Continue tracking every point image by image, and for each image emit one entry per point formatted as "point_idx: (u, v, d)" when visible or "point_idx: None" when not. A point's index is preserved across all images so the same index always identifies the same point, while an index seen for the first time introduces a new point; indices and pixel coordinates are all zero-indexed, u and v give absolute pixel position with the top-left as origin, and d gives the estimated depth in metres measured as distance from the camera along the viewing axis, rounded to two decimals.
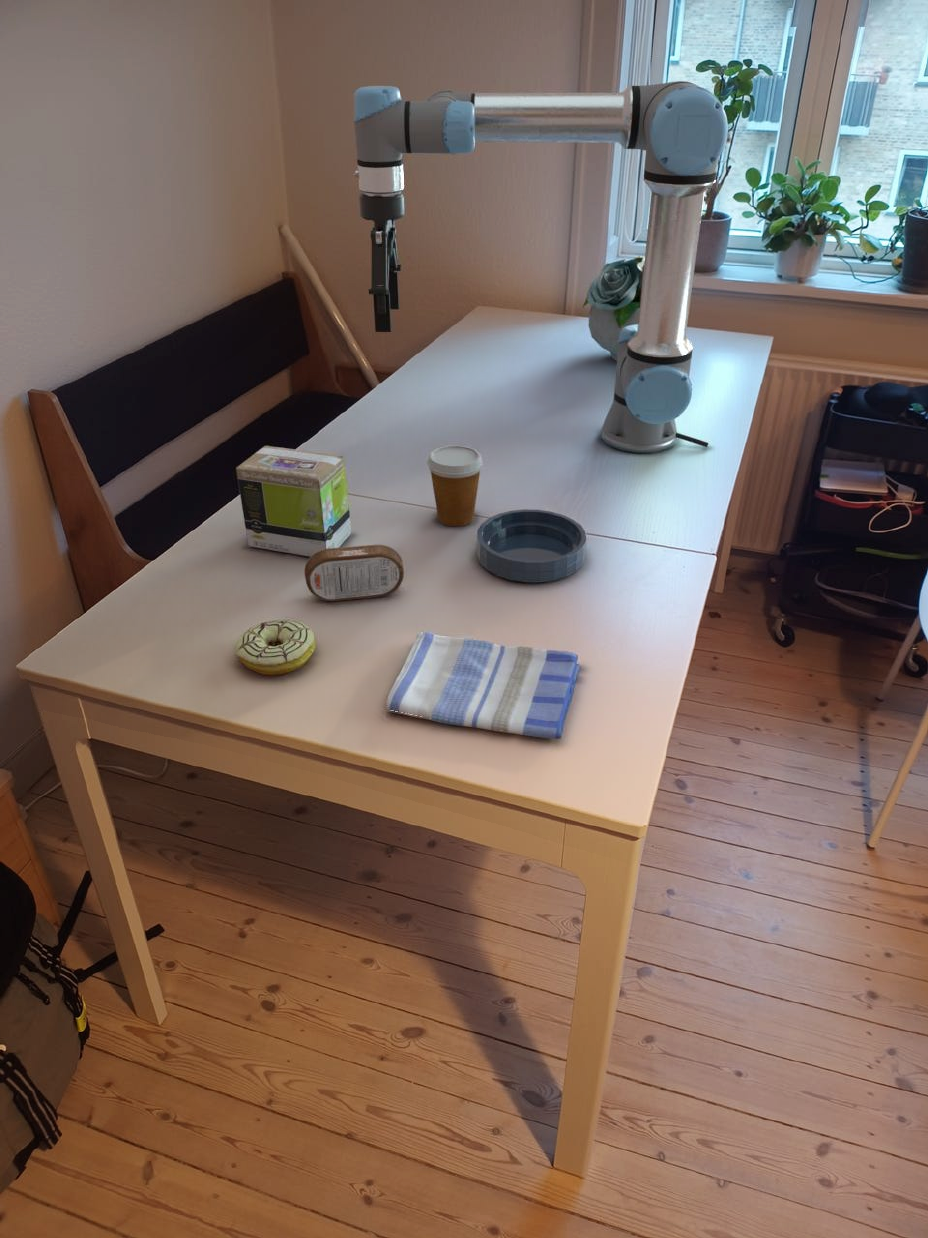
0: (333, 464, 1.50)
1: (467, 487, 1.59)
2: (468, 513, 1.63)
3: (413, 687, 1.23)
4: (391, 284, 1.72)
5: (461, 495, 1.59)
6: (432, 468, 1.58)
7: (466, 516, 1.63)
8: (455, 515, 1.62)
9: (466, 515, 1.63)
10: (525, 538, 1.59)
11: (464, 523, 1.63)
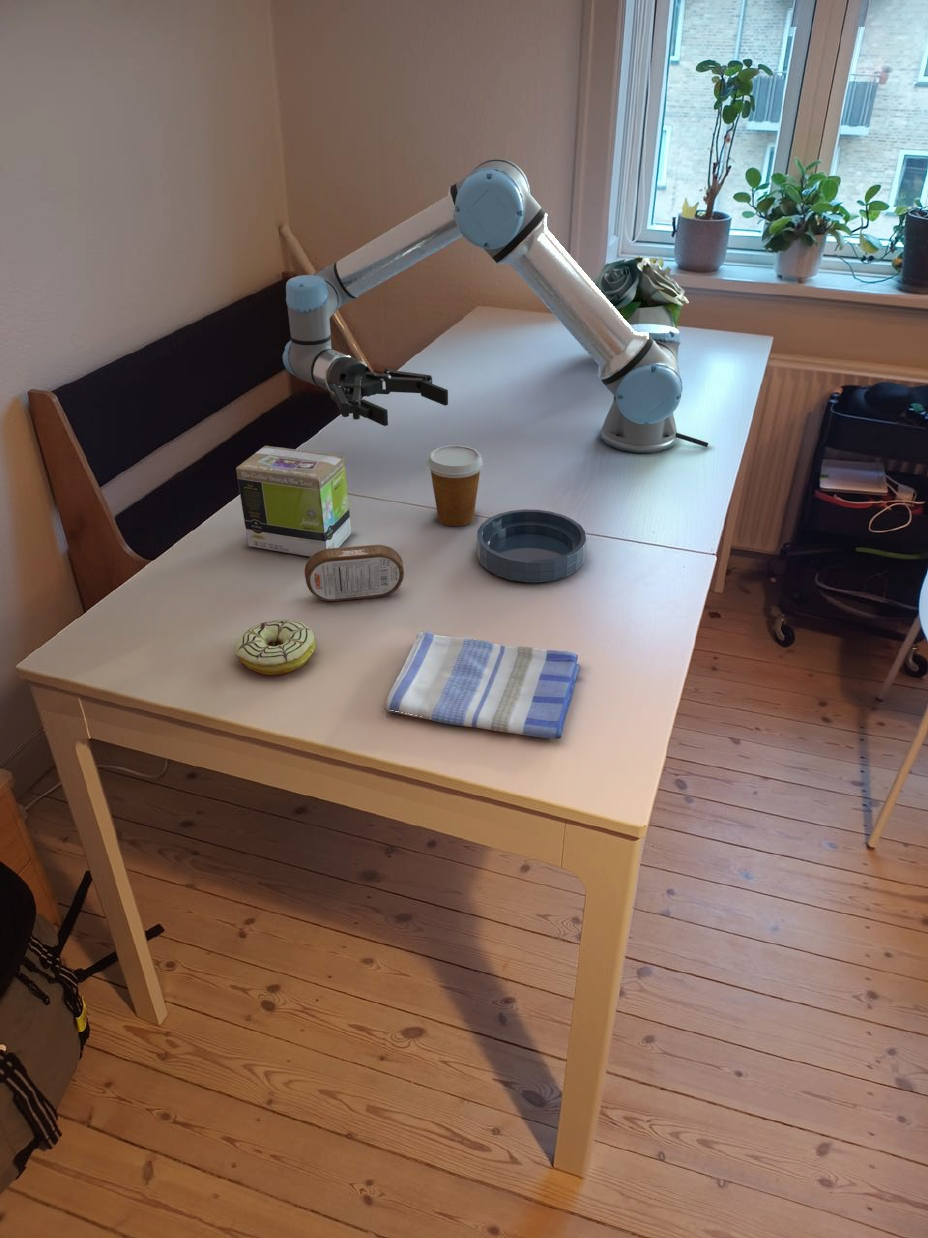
0: (333, 464, 1.50)
1: (467, 487, 1.59)
2: (468, 513, 1.63)
3: (413, 687, 1.23)
4: (427, 390, 1.68)
5: (461, 495, 1.59)
6: (432, 468, 1.58)
7: (466, 516, 1.63)
8: (455, 515, 1.62)
9: (466, 515, 1.63)
10: (525, 538, 1.59)
11: (464, 523, 1.63)
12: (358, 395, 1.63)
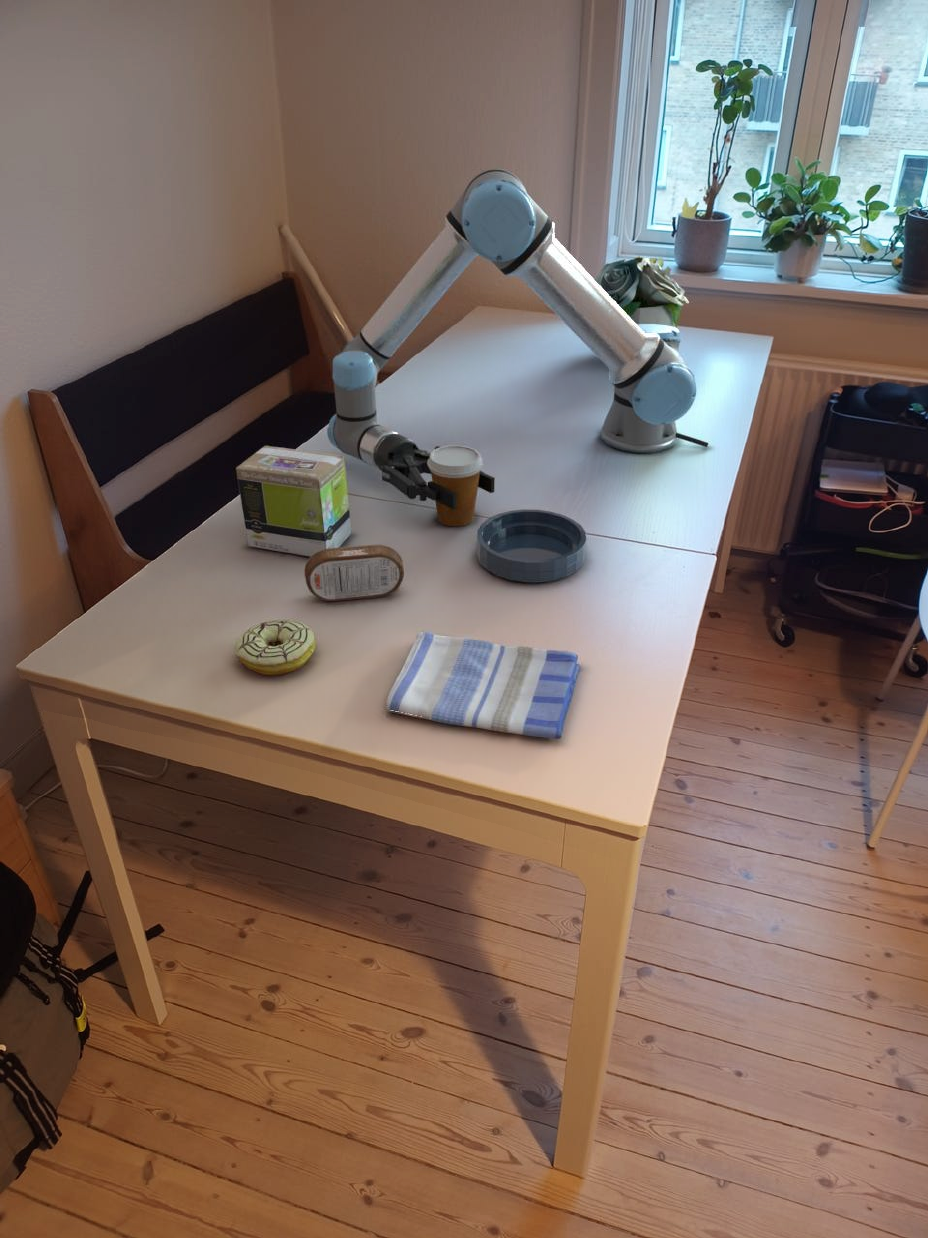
0: (333, 464, 1.50)
1: (467, 487, 1.59)
2: (468, 513, 1.63)
3: (413, 687, 1.23)
4: None
5: (461, 495, 1.59)
6: (432, 468, 1.58)
7: (466, 516, 1.63)
8: (455, 515, 1.62)
9: (466, 515, 1.63)
10: (525, 538, 1.59)
11: (464, 523, 1.63)
12: (420, 476, 1.62)
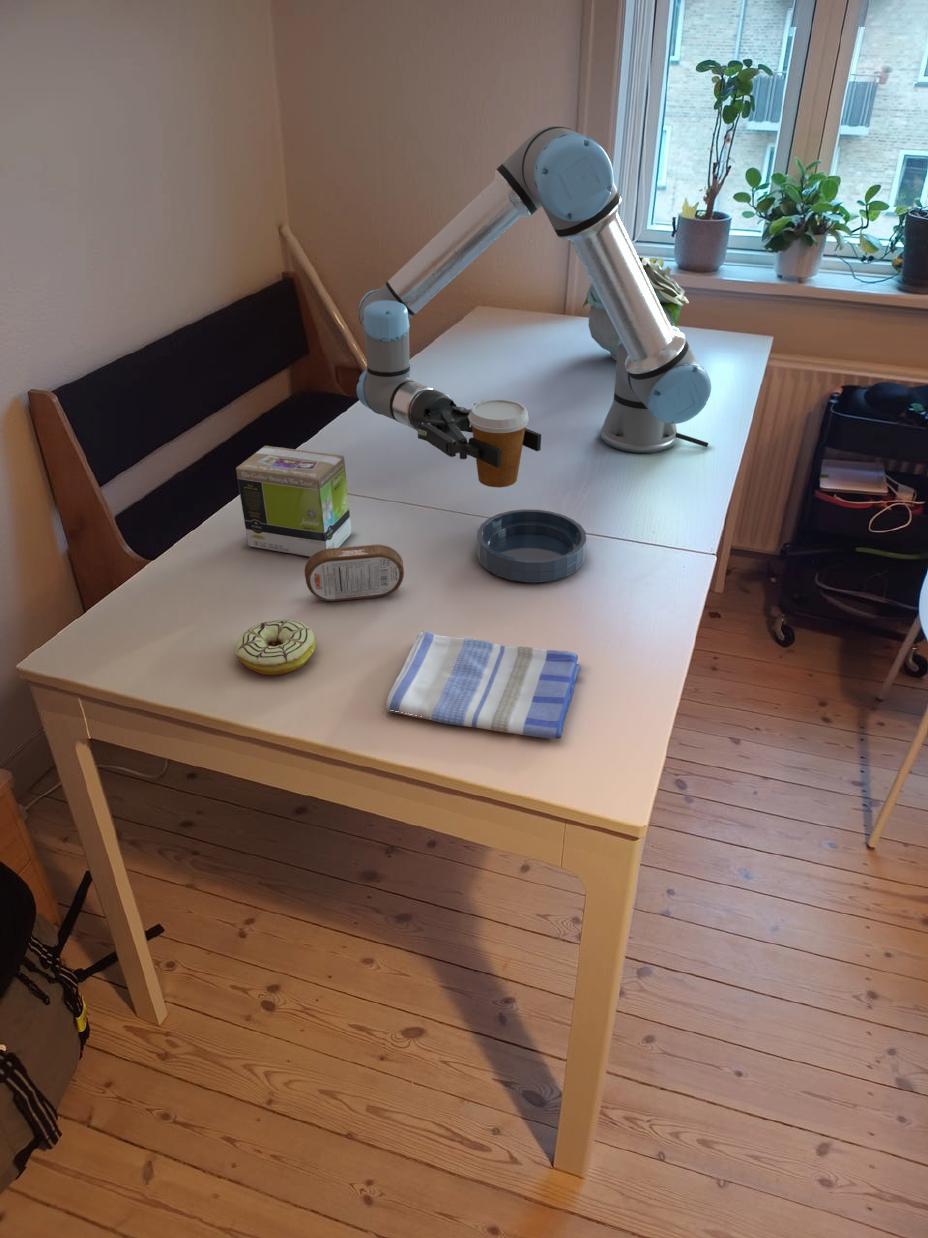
0: (333, 464, 1.50)
1: (512, 443, 1.46)
2: (512, 472, 1.50)
3: (413, 687, 1.23)
4: None
5: (506, 452, 1.46)
6: (474, 422, 1.45)
7: (510, 476, 1.50)
8: (498, 475, 1.49)
9: (510, 475, 1.50)
10: (525, 538, 1.59)
11: (507, 484, 1.51)
12: (460, 432, 1.49)
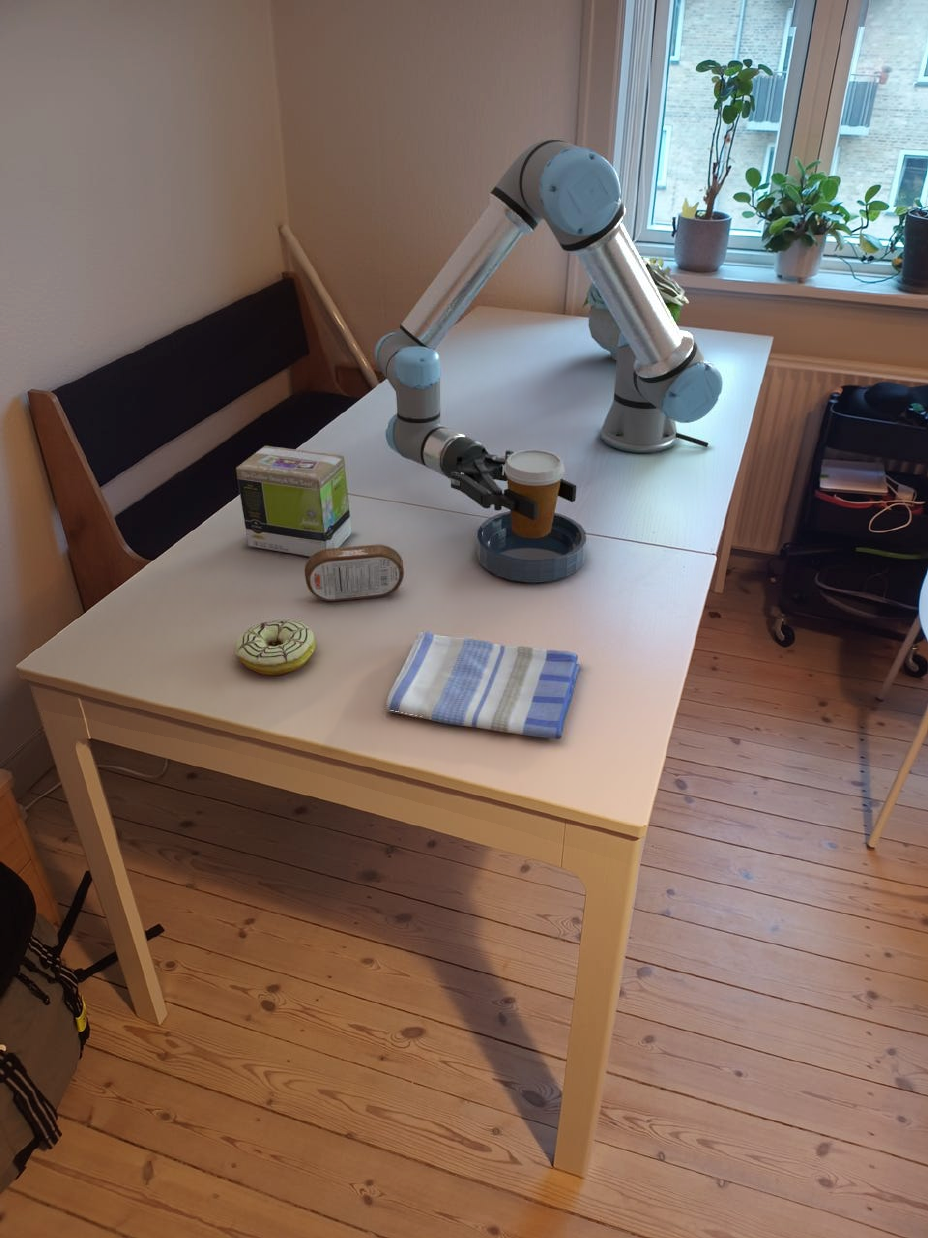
0: (333, 464, 1.50)
1: (548, 495, 1.45)
2: (547, 523, 1.48)
3: (413, 687, 1.23)
4: None
5: (541, 504, 1.45)
6: (510, 475, 1.44)
7: (545, 527, 1.49)
8: (533, 526, 1.48)
9: (544, 526, 1.48)
10: (525, 538, 1.59)
11: (542, 535, 1.49)
12: (495, 483, 1.48)
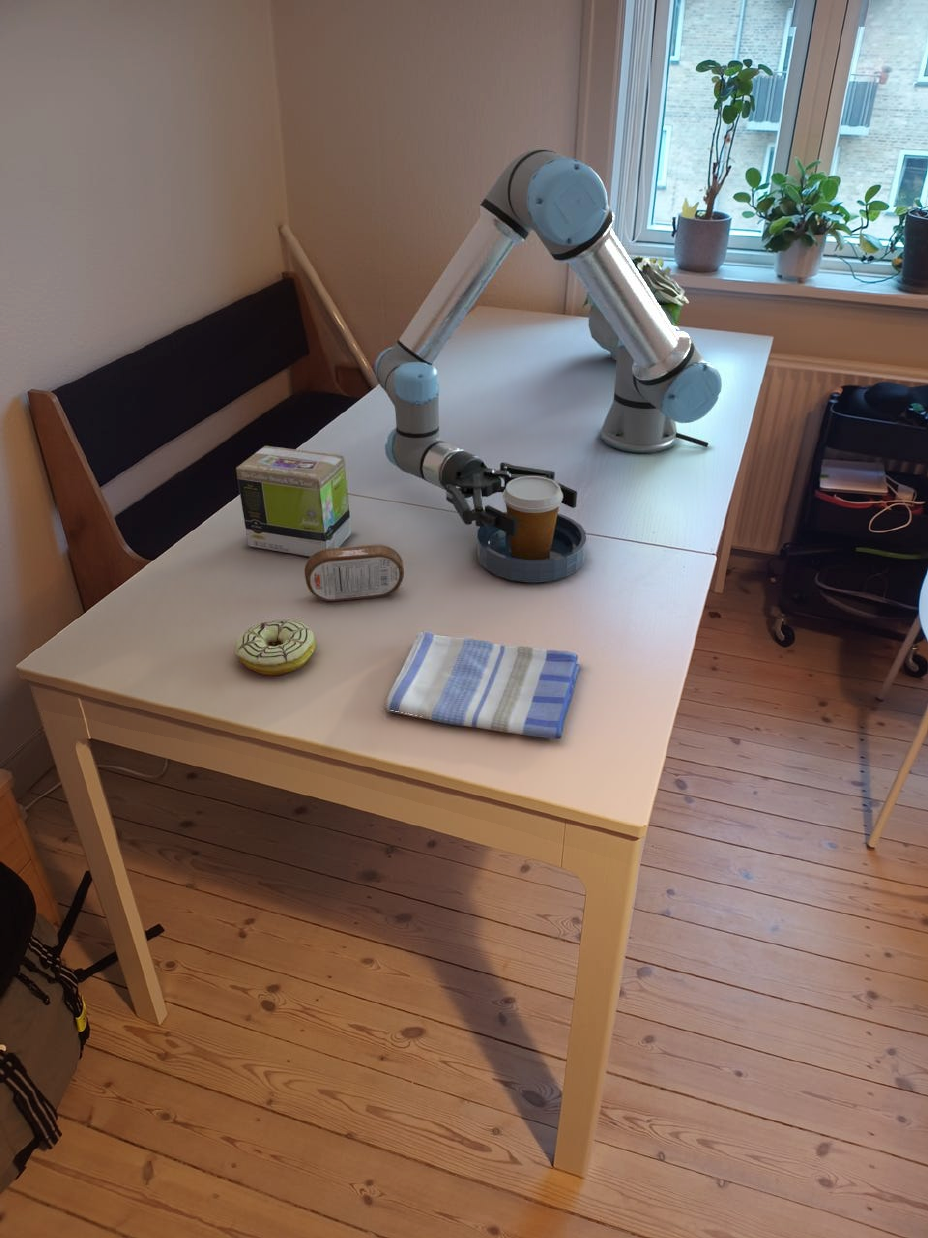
0: (333, 464, 1.50)
1: (546, 522, 1.47)
2: (546, 549, 1.51)
3: (413, 687, 1.23)
4: None
5: (540, 530, 1.48)
6: (509, 502, 1.46)
7: (543, 552, 1.51)
8: (532, 551, 1.50)
9: (543, 551, 1.51)
10: None
11: None
12: (480, 499, 1.49)
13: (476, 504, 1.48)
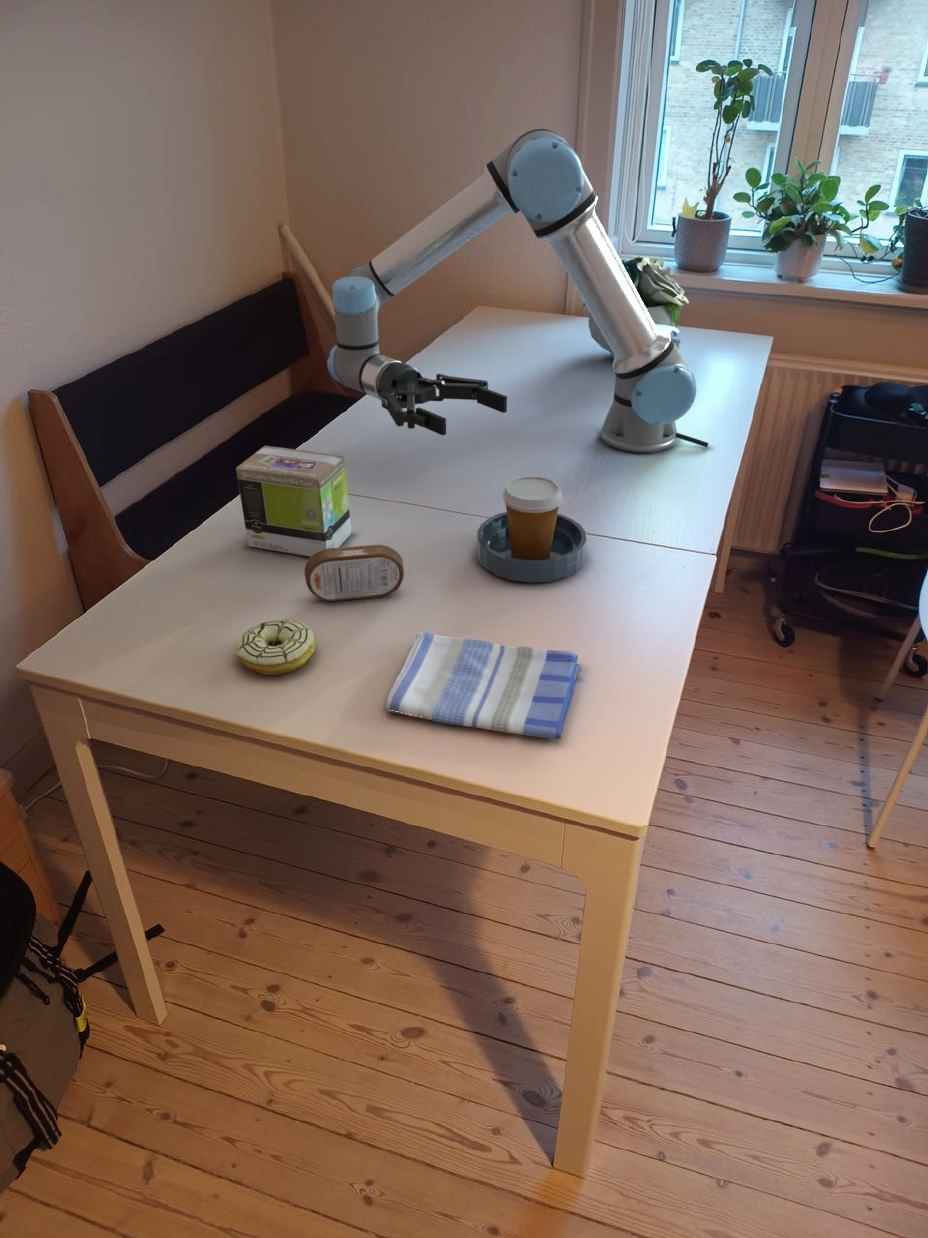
0: (333, 464, 1.50)
1: (546, 522, 1.47)
2: (546, 549, 1.51)
3: (413, 687, 1.23)
4: (484, 396, 1.59)
5: (540, 530, 1.48)
6: (509, 502, 1.46)
7: (543, 552, 1.51)
8: (532, 551, 1.50)
9: (543, 551, 1.51)
10: None
11: None
12: (413, 403, 1.54)
13: (408, 406, 1.53)
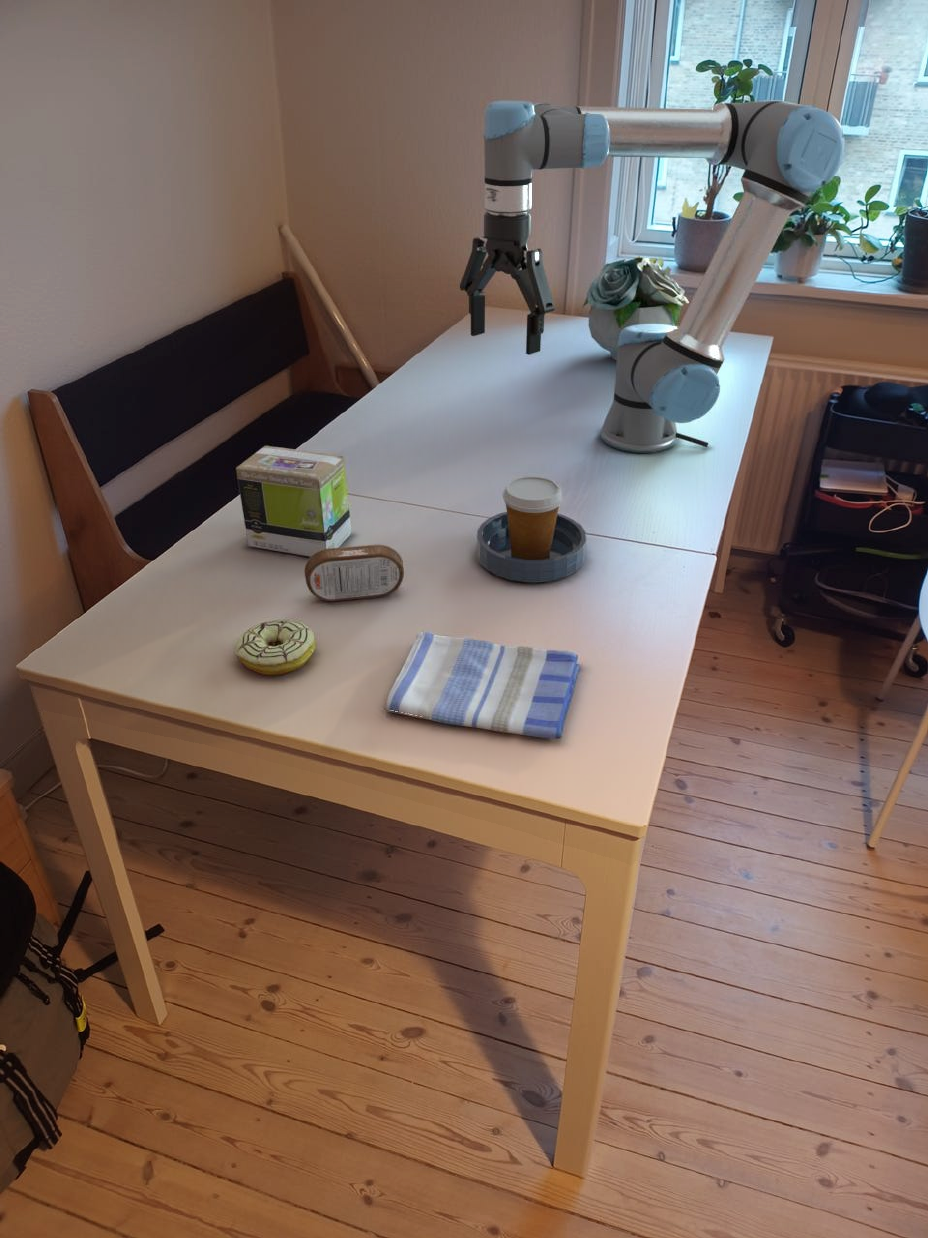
0: (333, 464, 1.50)
1: (546, 522, 1.47)
2: (546, 549, 1.51)
3: (413, 687, 1.23)
4: (480, 308, 1.64)
5: (540, 530, 1.48)
6: (509, 502, 1.46)
7: (543, 552, 1.51)
8: (532, 551, 1.50)
9: (543, 551, 1.51)
10: None
11: None
12: None
13: None
